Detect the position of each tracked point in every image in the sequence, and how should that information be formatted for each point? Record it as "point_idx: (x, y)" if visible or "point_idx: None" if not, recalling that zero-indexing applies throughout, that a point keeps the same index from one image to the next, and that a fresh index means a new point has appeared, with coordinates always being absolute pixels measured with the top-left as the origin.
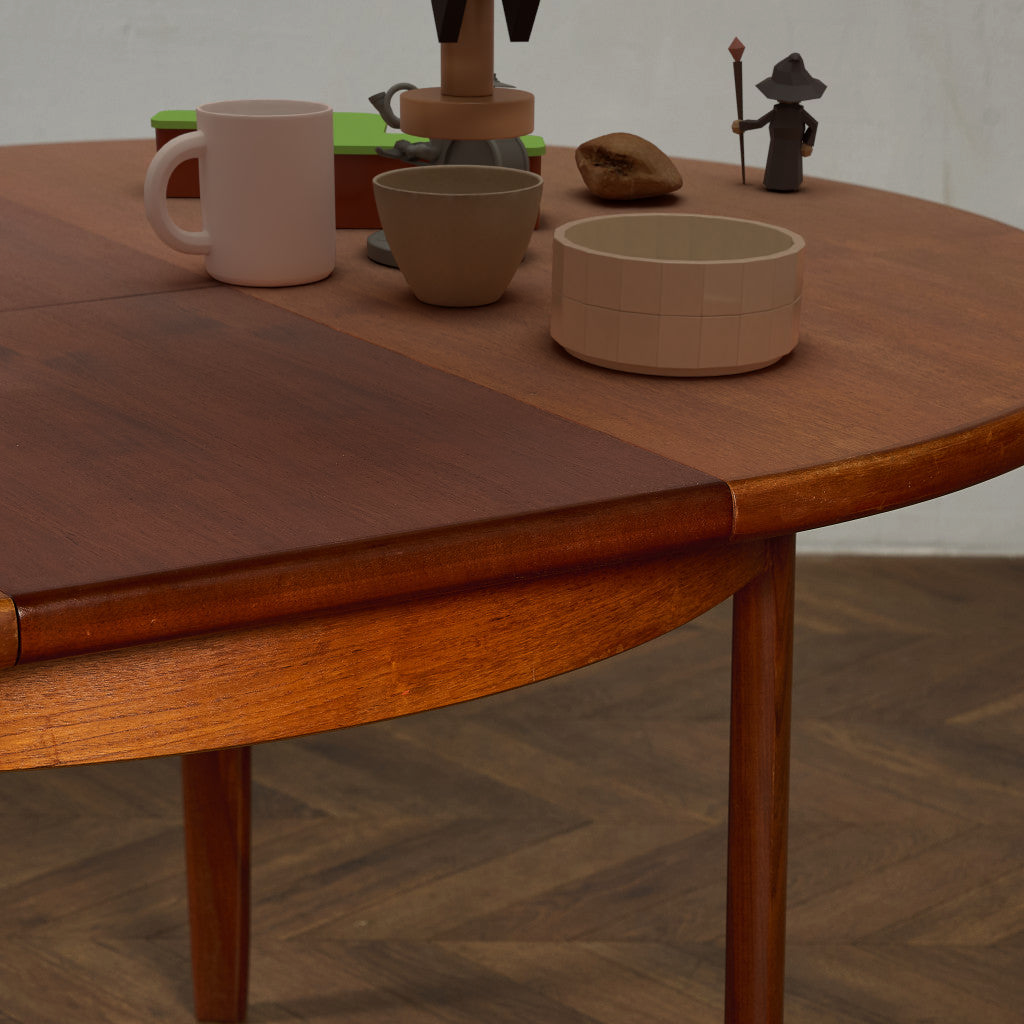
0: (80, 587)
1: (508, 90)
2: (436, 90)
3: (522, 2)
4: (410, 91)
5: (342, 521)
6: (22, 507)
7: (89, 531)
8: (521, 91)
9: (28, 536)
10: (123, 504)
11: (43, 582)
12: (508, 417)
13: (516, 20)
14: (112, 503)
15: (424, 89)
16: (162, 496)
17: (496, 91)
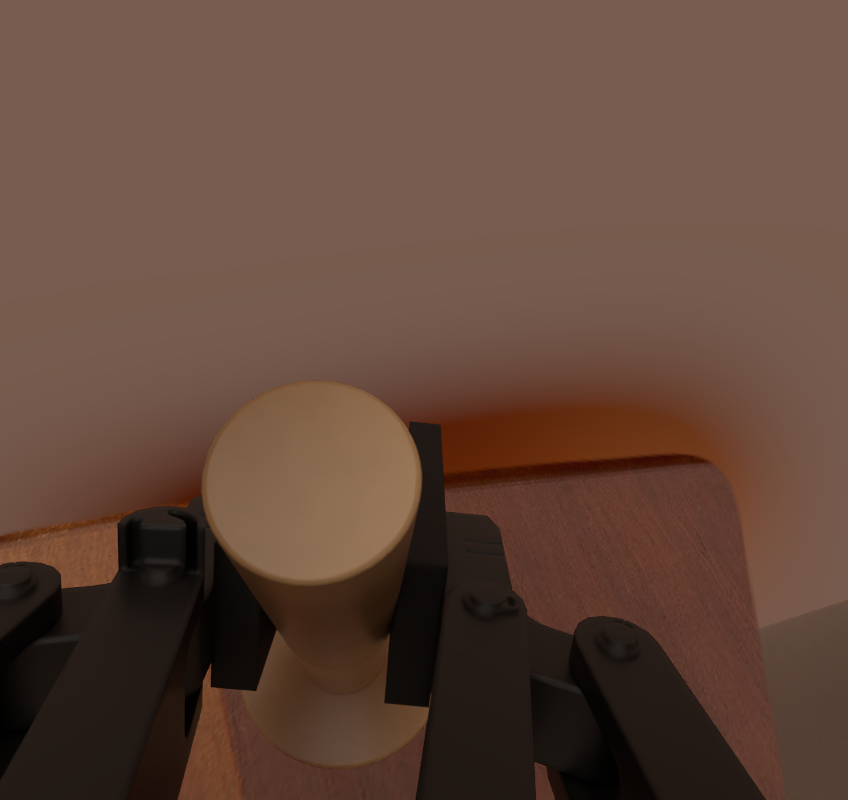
0: (688, 460)
1: (261, 680)
2: (376, 710)
3: None
4: (421, 708)
5: (508, 520)
6: (746, 623)
7: (690, 555)
8: None
9: (733, 558)
10: (669, 606)
11: (712, 474)
12: (285, 755)
13: None
14: (678, 611)
15: (391, 731)
16: (639, 615)
17: (286, 671)
